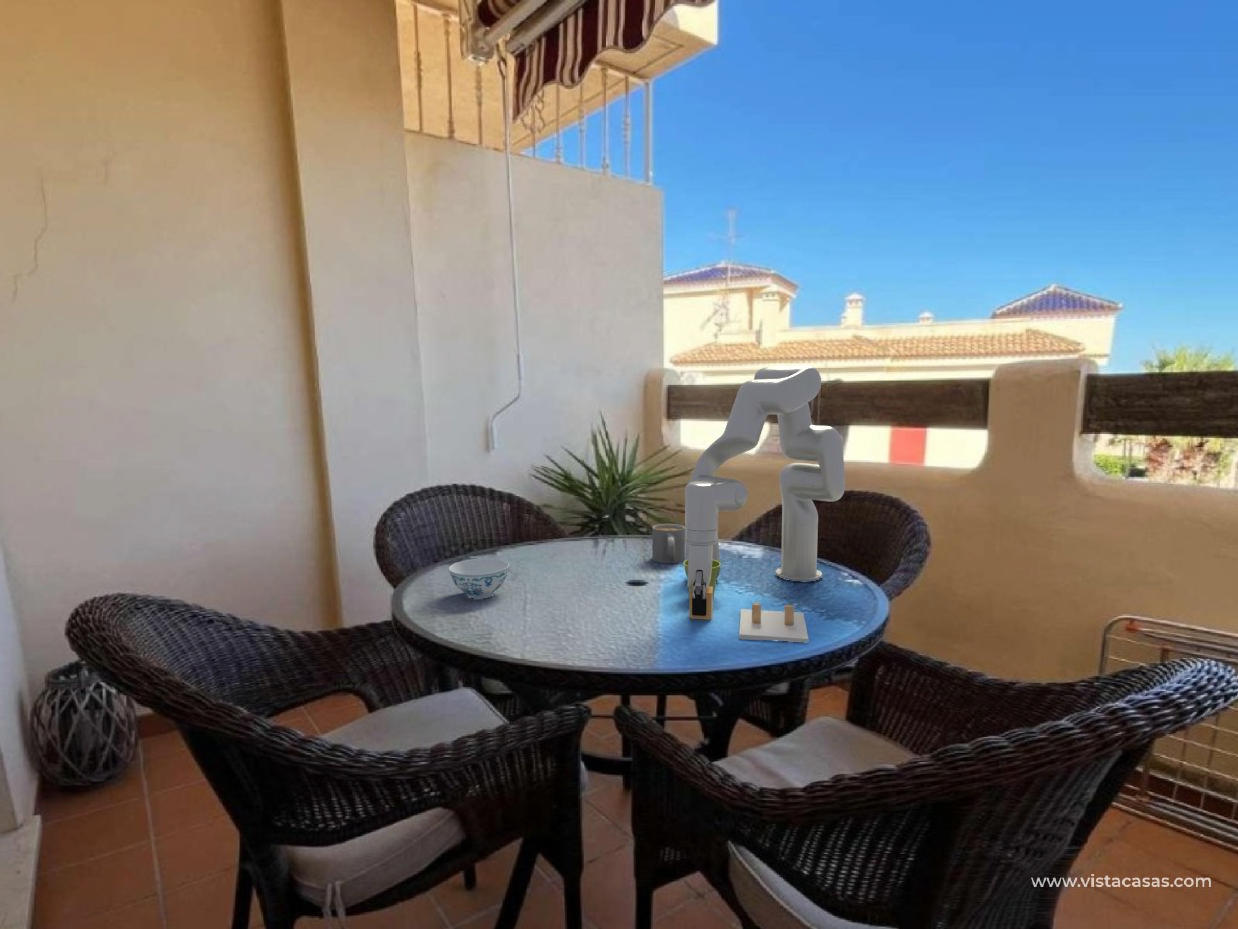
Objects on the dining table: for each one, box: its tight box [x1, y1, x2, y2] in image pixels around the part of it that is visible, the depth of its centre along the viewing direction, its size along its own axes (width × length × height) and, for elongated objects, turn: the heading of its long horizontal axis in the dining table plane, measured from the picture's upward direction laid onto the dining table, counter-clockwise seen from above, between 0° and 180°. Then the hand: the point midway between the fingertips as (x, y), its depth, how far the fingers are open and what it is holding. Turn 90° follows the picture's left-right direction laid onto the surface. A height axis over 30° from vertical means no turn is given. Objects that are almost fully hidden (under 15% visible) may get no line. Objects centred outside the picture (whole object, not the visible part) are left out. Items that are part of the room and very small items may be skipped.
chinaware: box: [448, 558, 510, 600], centre depth 168 cm, size 15×15×8 cm
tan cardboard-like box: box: [688, 586, 714, 621], centre depth 151 cm, size 5×5×6 cm
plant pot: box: [682, 560, 722, 598], centre depth 165 cm, size 9×9×9 cm
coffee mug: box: [651, 523, 686, 564], centre depth 200 cm, size 13×10×10 cm
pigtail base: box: [738, 602, 809, 643], centre depth 143 cm, size 16×14×5 cm
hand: (700, 608), depth 152 cm, fingers open, 9 cm apart
